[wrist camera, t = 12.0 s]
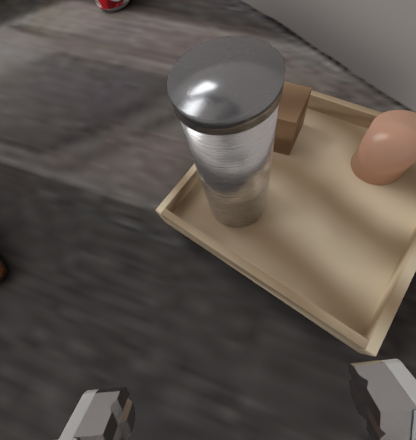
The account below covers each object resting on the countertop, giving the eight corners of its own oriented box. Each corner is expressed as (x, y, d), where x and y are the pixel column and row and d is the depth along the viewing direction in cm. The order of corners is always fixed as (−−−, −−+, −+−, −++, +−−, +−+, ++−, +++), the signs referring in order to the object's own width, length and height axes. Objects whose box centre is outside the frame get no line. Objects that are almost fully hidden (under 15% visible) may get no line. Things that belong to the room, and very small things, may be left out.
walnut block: (289, 155, 23) (296, 122, 19) (248, 144, 24) (247, 111, 20) (303, 124, 24) (312, 87, 20) (263, 115, 25) (265, 79, 22)
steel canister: (246, 240, 20) (240, 135, 9) (197, 209, 22) (144, 93, 11) (279, 192, 21) (308, 51, 11) (229, 167, 23) (210, 26, 12)
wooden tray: (348, 350, 19) (375, 356, 14) (170, 229, 25) (155, 210, 21) (435, 175, 23) (475, 142, 19) (265, 111, 29) (267, 75, 25)
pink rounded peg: (391, 193, 20) (422, 162, 16) (342, 172, 21) (360, 140, 18) (411, 157, 21) (444, 121, 17) (362, 140, 22) (384, 103, 19)
